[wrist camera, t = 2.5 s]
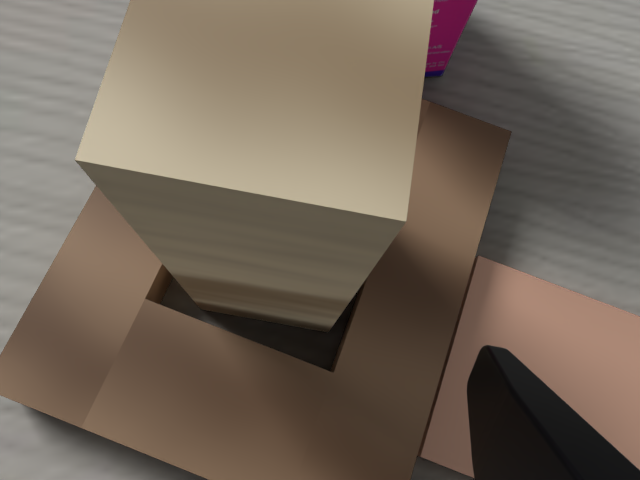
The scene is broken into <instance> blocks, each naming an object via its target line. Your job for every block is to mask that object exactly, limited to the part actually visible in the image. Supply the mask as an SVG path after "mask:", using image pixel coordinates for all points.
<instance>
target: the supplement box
mask: <svg viewBox="0 0 640 480" xmlns="http://www.w3.org/2000/svg"><path fill="white" fill-rule="evenodd" d="M477 1H478V0H434V4H433V12H432V20H431V28H430V36H429V44H428V52H427V60H426V68H425V76H424V77H435V76H442V75H443V73H444V70H445V68H446V66H447V64H448V62H449V59H450V57H451V55H452V53H453V51H454V49H455V47H456V44H457V42H458V40H459V38H460V36H461V34H462V32H463V30H464V28H465V25H466V23H467V21H468V19H469V17H470V15H471V13H472V11H473V9H474V7H475V5H476V3H477Z"/></svg>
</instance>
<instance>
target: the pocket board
mask: <svg viewBox="0 0 640 480" xmlns="http://www.w3.org/2000/svg"><path fill="white" fill-rule="evenodd" d="M510 135H511V131H509V130H506V129H503V128H500V127H498V126H495V125H492V124H490V123H487V122H484V121H481V120H479V119H476V118H473V117H471V116H468V115H465V114H462V113H460V112H457V111H454V110H452V109H449V108H446V107H443V106H441V105H438V104H435V103H433V102H430V101H427V100H424V99H422V100H421V108H420V116H419V124H418V132H417V140H416V148H415V156H414V164H413V172H412V180H411V188H410V196H409V204H408V212H407V220H406V223H405V224H404V226H403V227H402V228H401V230H400V231H399V233H398V234H397V235H396V237H395V238H394V240H393V241H392V243H391V244H390V245H389V247H388V248H387V250H386V251H385V253H384V254H383V255H382V257H381V258H380V260H379V261H378V262H377V264H376V265H375V267H374V268H373V270H372V271H371V272H370V274H369V275H368V277H367V278H366V280H365V281H364V282H363V284H362V285H361V287H360V289H359V292H358V295H357V298H356V300H355V303H354V306H353V309H352V311H351V314H350V317H349V320H348V323H347V325H346V328H345V331H344V334H343V337H342V339H341V342H340V345H339V348H338V350H337V353H336V356H335V359H334V362H333V364H332V367H331V370H330V371H328V370H325V369H323V368H320V367H318V366H315V365H313V364H310V363H307V362H305V361H302V360H300V359H297V358H295V357H292V356H290V355H287V354H285V353H282V352H279V351H277V350H274V349H272V348H269V347H267V346H264V345H262V344H259V343H256V342H254V341H251V340H249V339H246V338H244V337H241V336H239V335H236V334H234V333H231V332H228V331H226V330H223V329H221V328H218V327H216V326H213V325H211V324H208V323H206V322H203V321H200V320H198V319H195V318H193V317H190V316H188V315H185V314H183V313H180V312H178V311H175V310H172V309H170V308H167V307H165V306H162V305H160V303H161V301H162V299H163V297H164V295H165V293H166V291H167V289H168V286H169V284H170V282H171V280H172V278H173V276H172V275H171V273H170V272H169V271H168V270H167V269H166V267H165V266H164V265H163V264H162V263H161V261H160V260H159V259H158V258H157V257H156V256H155V254H154V253H153V252H152V251H151V250H150V248H149V247H148V246H147V245H146V244H145V243H144V241H143V240H142V239H141V238H140V237H139V235H138V234H137V233H136V232H135V231H134V229H133V228H132V227H131V226H130V225H129V224H128V222H127V221H126V220H125V219H124V218H123V216H122V215H121V214H120V213H119V212H118V211H117V209H116V208H115V207H114V206H113V205H112V203H111V202H110V201H109V200H108V199H107V197H106V196H105V195H104V194H103V193H102V192H101V190H100V189H99V188H98V187H97V186H96V187H95V188H94V190H93V192H92V194H91V196H90V197H89V199H88V201H87V203H86V204H85V206H84V208H83V210H82V211H81V213H80V215H79V217H78V219H77V220H76V222H75V224H74V226H73V227H72V229H71V231H70V233H69V234H68V236H67V238H66V240H65V242H64V243H63V245H62V247H61V249H60V250H59V252H58V254H57V256H56V257H55V259H54V261H53V263H52V265H51V266H50V268H49V270H48V272H47V273H46V275H45V277H44V279H43V281H42V282H41V284H40V286H39V288H38V289H37V291H36V293H35V295H34V296H33V298H32V300H31V302H30V304H29V305H28V307H27V309H26V311H25V312H24V314H23V316H22V318H21V319H20V321H19V323H18V325H17V327H16V328H15V330H14V332H13V334H12V335H11V337H10V339H9V341H8V342H7V344H6V346H5V348H4V350H3V351H2V353H1V355H0V395H1V396H3V397H6V398H8V399H11V400H13V401H16V402H18V403H21V404H23V405H26V406H28V407H31V408H33V409H36V410H38V411H40V412H43V413H45V414H48V415H50V416H53V417H55V418H58V419H60V420H63V421H65V422H68V423H70V424H73V425H75V426H78V427H80V428H82V429H85V430H87V431H90V432H92V433H95V434H97V435H100V436H102V437H105V438H107V439H110V440H112V441H115V442H117V443H119V444H122V445H124V446H127V447H129V448H132V449H134V450H137V451H139V452H142V453H144V454H147V455H149V456H152V457H154V458H157V459H159V460H161V461H164V462H166V463H169V464H171V465H174V466H176V467H179V468H181V469H184V470H186V471H189V472H191V473H194V474H196V475H198V476H201V477H203V478H206V479H208V480H410V479H411V475H412V472H413V468H414V465H415V461H416V458H417V455H418V451H419V448H420V444H421V441H422V437H423V434H424V431H425V427H426V424H427V420H428V417H429V413H430V410H431V407H432V403H433V400H434V396H435V393H436V389H437V386H438V382H439V379H440V376H441V372H442V369H443V365H444V362H445V358H446V355H447V352H448V348H449V345H450V341H451V338H452V334H453V331H454V328H455V324H456V321H457V317H458V314H459V310H460V307H461V303H462V300H463V297H464V293H465V290H466V286H467V283H468V279H469V276H470V273H471V269H472V266H473V262H474V259H475V255H476V252H477V248H478V245H479V242H480V238H481V235H482V231H483V228H484V224H485V221H486V218H487V214H488V211H489V207H490V204H491V200H492V197H493V194H494V190H495V187H496V183H497V180H498V176H499V173H500V169H501V166H502V163H503V159H504V156H505V152H506V149H507V145H508V142H509V139H510Z"/></svg>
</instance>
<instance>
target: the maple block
mask: <svg viewBox="0 0 640 480" xmlns="http://www.w3.org/2000/svg"><path fill="white" fill-rule="evenodd" d="M433 4H434V0H130V3H129V6H128V9H127V12H126V15H125V17H124V20H123V23H122V26H121V29H120V32H119V35H118V38H117V40H116V43H115V46H114V49H113V52H112V55H111V58H110V60H109V63H108V66H107V69H106V72H105V75H104V78H103V80H102V83H101V86H100V89H99V92H98V95H97V98H96V101H95V103H94V106H93V109H92V112H91V115H90V118H89V121H88V123H87V126H86V129H85V132H84V135H83V138H82V141H81V143H80V146H79V149H78V152H77V155H76V158H75V161H76V162H77V163H78V164H79V165H80V167H81V168H82V169H83V170H84V171H85V173H86V174H87V175H88V176H89V177H90V179H91V180H92V181H93V182H94V183H95V184H96V186H97V187H98V188H99V189H100V190H101V192H102V193H103V194H104V195H105V196H106V197H107V199H108V200H109V201H110V202H111V203H112V205H113V206H114V207H115V208H116V209H117V211H118V212H119V213H120V214H121V215H122V216H123V218H124V219H125V220H126V221H127V222H128V224H129V225H130V226H131V227H132V228H133V229H134V231H135V232H136V233H137V234H138V235H139V237H140V238H141V239H142V240H143V241H144V243H145V244H146V245H147V246H148V247H149V248H150V250H151V251H152V252H153V253H154V254H155V256H156V257H157V258H158V259H159V260H160V261H161V263H162V264H163V265H164V266H165V267H166V269H167V270H168V271H169V272H170V273H171V275H172V276H173V277H174V278H175V279H176V280H177V282H178V283H179V284H180V285H181V286H182V288H183V289H184V290H185V291H186V292H187V293H188V295H189V296H190V297H191V298H192V299H193V301H194V302H195V303H196V304H197V305H198V306H199V308H200V309H202V310H207V311H213V312H218V313H224V314H229V315H235V316H240V317H246V318H251V319H257V320H262V321H268V322H273V323H279V324H284V325H290V326H296V327H301V328H307V329H312V330H318V331H323V332H329V331H330V329H331V328H332V326H333V325H334V324H335V322H336V321H337V319H338V318H339V316H340V315H341V314H342V312H343V311H344V309H345V308H346V307H347V305H348V304H349V302H350V301H351V299H352V298H353V297H354V295H355V294H356V292H357V291H358V289H359V288H360V287H361V285H362V284H363V282H364V281H365V280H366V278H367V277H368V275H369V274H370V272H371V271H372V270H373V268H374V267H375V265H376V264H377V262H378V261H379V260H380V258H381V257H382V255H383V254H384V253H385V251H386V250H387V248H388V247H389V245H390V244H391V243H392V241H393V240H394V238H395V237H396V235H397V234H398V233H399V231H400V230H401V228H402V227H403V226H404V224H405V223H406V220H407V212H408V204H409V196H410V188H411V180H412V172H413V164H414V156H415V148H416V140H417V132H418V124H419V116H420V108H421V100H422V92H423V84H424V76H425V68H426V60H427V52H428V44H429V36H430V28H431V20H432V12H433Z"/></svg>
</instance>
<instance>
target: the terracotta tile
mask: <svg viewBox="0 0 640 480" xmlns="http://www.w3.org/2000/svg"><path fill="white" fill-rule="evenodd" d="M485 345H491V346H496V347H502V348H506V349H508V350H509V351H510V352H511V353H512V354H513V355H514V356H516V357H517V358H518V359H519V360H520V361H521V362H522V363H523V364H524V365H525V366H526V367H528V368H529V369H530V370H531V371H532V372H533V373H534V374H535V375H536V376H537V377H538V378H540V379H541V380H542V381H543V382H544V383H545V384H546V385H547V386H548V387H549V388H551V389H552V390H553V391H554V392H555V393H556V394H557V395H558V396H559V397H560V398H561V399H563V400H564V401H565V402H566V403H567V404H568V405H569V406H570V407H571V408H572V409H573V410H575V411H576V412H577V413H578V414H579V415H580V416H581V417H582V418H583V419H584V420H586V421H587V422H588V423H589V424H590V425H591V426H592V427H593V428H594V429H595V430H596V431H598V432H599V433H600V434H601V435H602V436H603V437H604V438H605V439H606V440H607V441H608V442H610V443H611V444H612V445H613V446H614V447H615V448H616V449H617V450H618V451H619V452H620V453H622V454H623V455H624V456H625V457H626V458H627V459H628V460H629V461H630V462H631V463H633V464H634V465H635V466H636V467H637V468H638V469H639V470H640V316H637V315H635V314H632V313H629V312H627V311H624V310H621V309H619V308H616V307H613V306H611V305H608V304H606V303H603V302H600V301H598V300H595V299H592V298H590V297H587V296H584V295H582V294H579V293H576V292H574V291H571V290H569V289H566V288H563V287H561V286H558V285H555V284H553V283H550V282H547V281H545V280H542V279H540V278H537V277H534V276H532V275H529V274H526V273H524V272H521V271H518V270H516V269H513V268H511V267H508V266H505V265H503V264H500V263H497V262H495V261H492V260H489V259H487V258H484V257H482V256H477V257H476V258H475V259H474V262H473V266H472V269H471V273H470V276H469V279H468V283H467V286H466V290H465V293H464V297H463V300H462V303H461V307H460V310H459V314H458V317H457V321H456V324H455V328H454V331H453V334H452V338H451V341H450V345H449V348H448V352H447V355H446V358H445V362H444V365H443V369H442V372H441V376H440V379H439V382H438V386H437V389H436V393H435V396H434V400H433V403H432V407H431V410H430V413H429V417H428V420H427V424H426V427H425V431H424V434H423V437H422V441H421V444H420V448H419V451H418V455H417V456H419V457H422V458H424V459H427V460H429V461H432V462H434V463H437V464H440V465H442V466H445V467H447V468H450V469H452V470H455V471H457V472H460V473H462V474H465V475H467V476H470V477H472V478H474V472H473V465H472V454H471V441H470V429H469V416H468V403H467V382H468V378H469V376H470V373H471V371H472V368H473V366H474V363H475V361H476V358H477V356H478V353H479V351H480V349H481V348H482V347H483V346H485Z"/></svg>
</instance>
